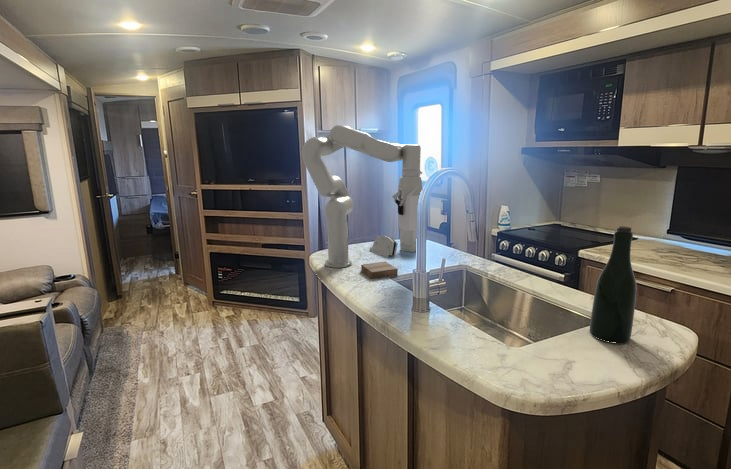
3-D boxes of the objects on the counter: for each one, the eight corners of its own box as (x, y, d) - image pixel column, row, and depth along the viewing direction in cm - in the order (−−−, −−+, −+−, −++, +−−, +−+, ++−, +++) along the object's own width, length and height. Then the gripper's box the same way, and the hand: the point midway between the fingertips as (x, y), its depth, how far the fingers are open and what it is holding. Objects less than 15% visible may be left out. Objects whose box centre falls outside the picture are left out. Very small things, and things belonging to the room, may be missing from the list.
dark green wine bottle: (632, 335, 119) (649, 226, 112) (627, 349, 111) (644, 232, 104) (593, 325, 126) (606, 221, 118) (585, 337, 118) (599, 227, 111)
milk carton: (409, 231, 172) (411, 186, 168) (398, 228, 177) (398, 185, 173) (421, 229, 177) (422, 185, 172) (409, 226, 182) (410, 184, 178)
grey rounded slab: (368, 250, 215) (374, 232, 215) (375, 252, 218) (380, 234, 218) (387, 257, 201) (393, 238, 201) (394, 259, 204) (400, 240, 204)
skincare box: (418, 250, 215) (419, 221, 212) (412, 252, 210) (413, 223, 207) (405, 247, 220) (406, 219, 217) (399, 250, 215) (399, 221, 212)
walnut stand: (361, 271, 181) (361, 264, 180) (385, 267, 185) (385, 261, 185) (372, 279, 170) (372, 272, 169) (397, 275, 174) (397, 268, 174)
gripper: (424, 172, 178) (422, 211, 182) (388, 173, 172) (388, 213, 176) (433, 173, 171) (431, 214, 175) (396, 175, 165) (396, 216, 169)
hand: (409, 213), depth 175 cm, fingers closed on milk carton, 8 cm apart
